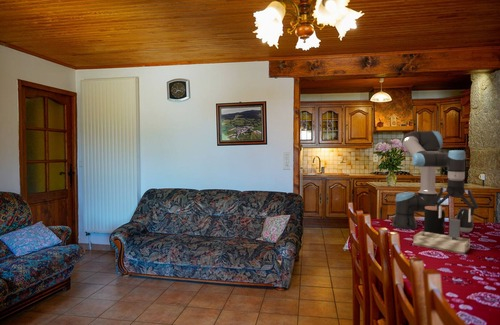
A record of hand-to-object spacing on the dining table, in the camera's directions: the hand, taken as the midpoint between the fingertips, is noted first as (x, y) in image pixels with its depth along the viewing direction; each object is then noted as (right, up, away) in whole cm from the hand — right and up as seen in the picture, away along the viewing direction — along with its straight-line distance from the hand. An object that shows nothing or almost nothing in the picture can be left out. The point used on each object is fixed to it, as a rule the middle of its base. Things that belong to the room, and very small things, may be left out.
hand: (454, 219), depth 174 cm
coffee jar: (+2, -15, +23) cm, 27 cm away
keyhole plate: (-5, -15, +4) cm, 17 cm away
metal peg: (0, -15, 0) cm, 15 cm away
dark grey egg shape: (+29, -14, +37) cm, 49 cm away
